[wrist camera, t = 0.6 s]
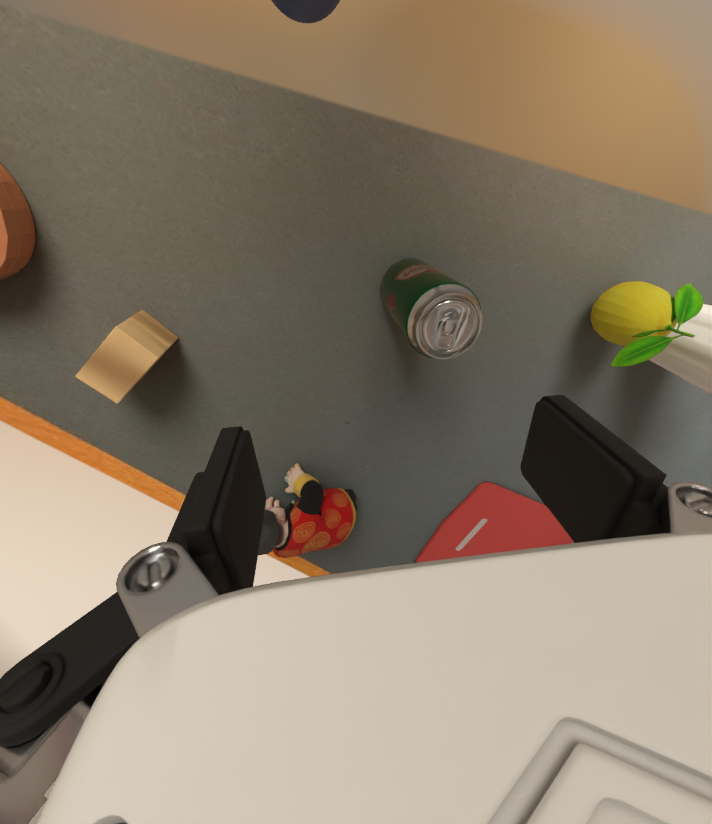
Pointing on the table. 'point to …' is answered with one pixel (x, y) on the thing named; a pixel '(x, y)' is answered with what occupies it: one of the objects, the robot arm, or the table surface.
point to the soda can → (431, 309)
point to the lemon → (643, 318)
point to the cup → (691, 351)
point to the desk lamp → (494, 526)
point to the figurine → (307, 517)
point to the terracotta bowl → (14, 227)
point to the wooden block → (126, 356)
